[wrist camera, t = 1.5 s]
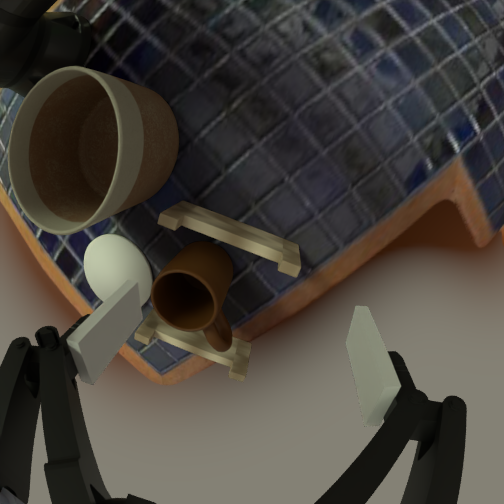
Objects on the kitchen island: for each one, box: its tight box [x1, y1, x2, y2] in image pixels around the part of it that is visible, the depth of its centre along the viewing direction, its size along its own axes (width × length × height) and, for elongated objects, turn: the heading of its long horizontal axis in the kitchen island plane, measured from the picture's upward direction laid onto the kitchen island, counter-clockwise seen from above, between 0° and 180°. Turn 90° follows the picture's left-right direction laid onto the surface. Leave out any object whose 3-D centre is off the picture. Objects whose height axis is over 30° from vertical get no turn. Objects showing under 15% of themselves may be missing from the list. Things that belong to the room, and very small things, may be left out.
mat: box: [84, 234, 153, 306], centre depth 39 cm, size 12×12×1 cm
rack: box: [134, 201, 301, 382], centre depth 35 cm, size 15×17×7 cm
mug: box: [151, 241, 233, 352], centre depth 33 cm, size 12×8×9 cm, turn 29°
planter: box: [8, 66, 179, 235], centre depth 26 cm, size 16×16×14 cm
